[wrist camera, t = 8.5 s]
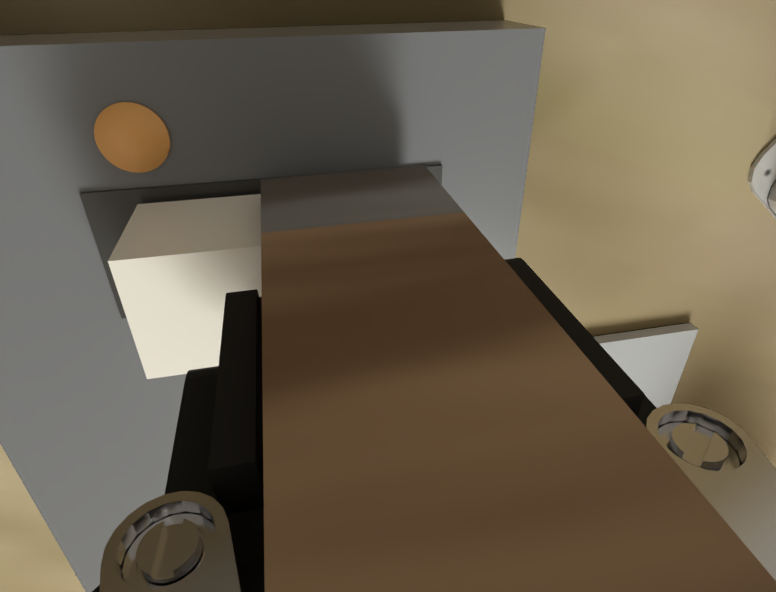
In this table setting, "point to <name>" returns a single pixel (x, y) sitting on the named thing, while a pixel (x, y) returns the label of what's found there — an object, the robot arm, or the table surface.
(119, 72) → the switch board
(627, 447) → the brown block
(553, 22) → the table surface
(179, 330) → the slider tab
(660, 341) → the mat
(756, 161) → the emergency button
